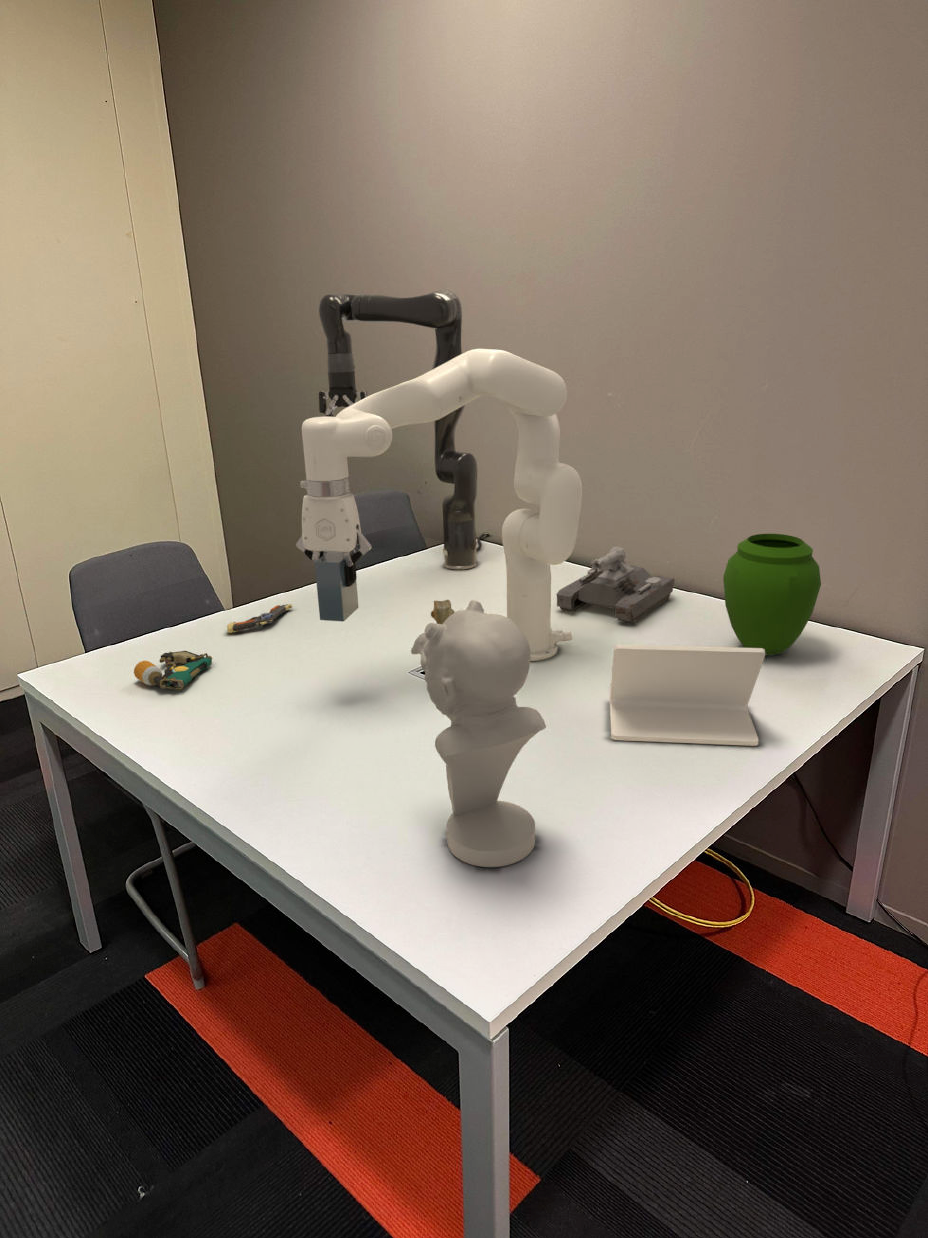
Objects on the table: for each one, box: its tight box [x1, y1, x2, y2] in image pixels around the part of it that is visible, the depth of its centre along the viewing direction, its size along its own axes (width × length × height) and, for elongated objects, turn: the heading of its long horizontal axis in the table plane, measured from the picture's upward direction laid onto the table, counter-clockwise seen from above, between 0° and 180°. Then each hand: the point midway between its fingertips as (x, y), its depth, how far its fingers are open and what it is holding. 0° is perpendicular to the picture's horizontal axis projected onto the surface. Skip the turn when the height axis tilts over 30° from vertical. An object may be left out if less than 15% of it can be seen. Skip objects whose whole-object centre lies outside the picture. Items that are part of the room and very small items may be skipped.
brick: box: [314, 552, 359, 622], centre depth 160 cm, size 5×8×11 cm, turn 166°
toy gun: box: [226, 603, 293, 634], centre depth 210 cm, size 3×19×10 cm
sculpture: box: [430, 599, 456, 624], centre depth 177 cm, size 6×7×15 cm
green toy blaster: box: [133, 650, 213, 690], centre depth 180 cm, size 4×17×15 cm
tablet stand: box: [609, 643, 766, 747], centre depth 153 cm, size 18×25×17 cm
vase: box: [722, 533, 822, 656], centre depth 181 cm, size 20×20×24 cm
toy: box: [556, 546, 676, 624], centre depth 212 cm, size 25×20×15 cm
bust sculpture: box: [410, 599, 547, 868], centre depth 121 cm, size 16×24×35 cm
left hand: (345, 428), depth 246 cm, fingers open, 8 cm apart
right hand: (336, 583), depth 160 cm, fingers closed on brick, 4 cm apart
